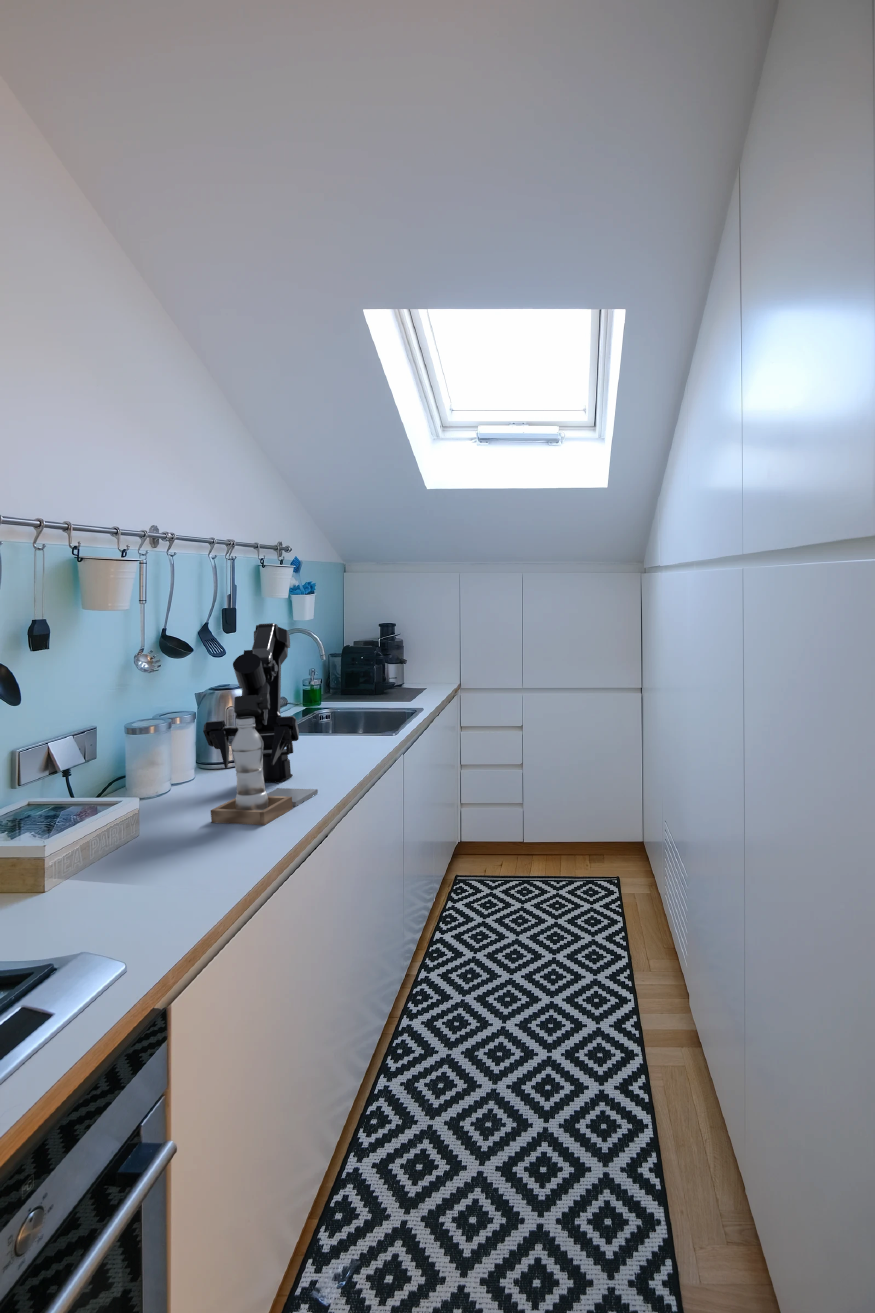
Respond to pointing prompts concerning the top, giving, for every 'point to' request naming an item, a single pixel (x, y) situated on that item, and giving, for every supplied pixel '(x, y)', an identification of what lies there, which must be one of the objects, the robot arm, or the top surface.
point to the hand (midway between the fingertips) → (248, 765)
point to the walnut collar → (251, 812)
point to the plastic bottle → (249, 766)
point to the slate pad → (294, 794)
